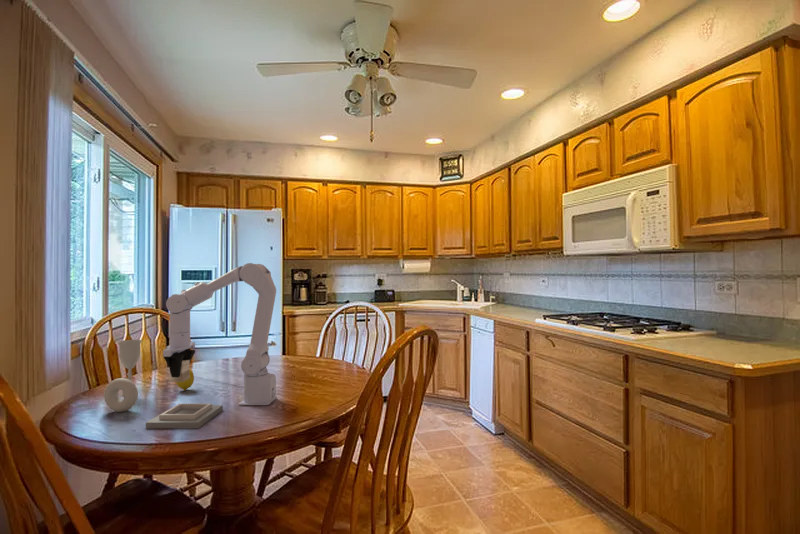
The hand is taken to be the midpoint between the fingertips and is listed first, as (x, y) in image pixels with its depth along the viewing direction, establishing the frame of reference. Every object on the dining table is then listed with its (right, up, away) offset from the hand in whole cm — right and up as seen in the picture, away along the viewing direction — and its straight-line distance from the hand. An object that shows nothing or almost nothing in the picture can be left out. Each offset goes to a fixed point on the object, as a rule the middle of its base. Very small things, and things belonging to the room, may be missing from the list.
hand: (179, 375), depth 127 cm
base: (+10, -9, -14) cm, 19 cm away
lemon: (-6, -9, +14) cm, 18 cm away
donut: (-13, -9, -8) cm, 18 cm away
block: (0, -2, 0) cm, 2 cm away
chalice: (-23, -10, +10) cm, 27 cm away
